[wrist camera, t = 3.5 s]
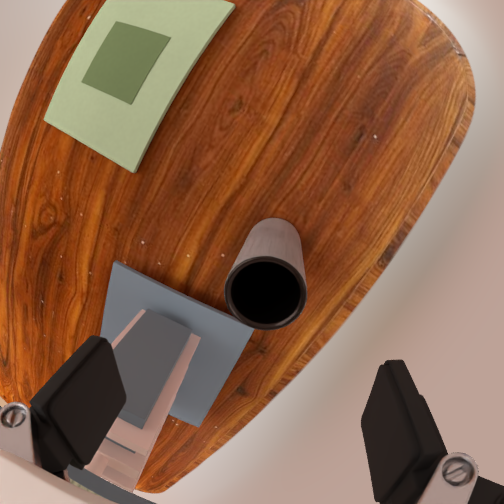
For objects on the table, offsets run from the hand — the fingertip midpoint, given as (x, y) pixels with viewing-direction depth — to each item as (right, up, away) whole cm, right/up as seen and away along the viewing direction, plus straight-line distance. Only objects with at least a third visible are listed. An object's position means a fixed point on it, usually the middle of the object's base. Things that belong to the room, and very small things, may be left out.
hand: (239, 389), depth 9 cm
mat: (-11, +23, +13) cm, 28 cm away
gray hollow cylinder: (+2, +5, +17) cm, 18 cm away
